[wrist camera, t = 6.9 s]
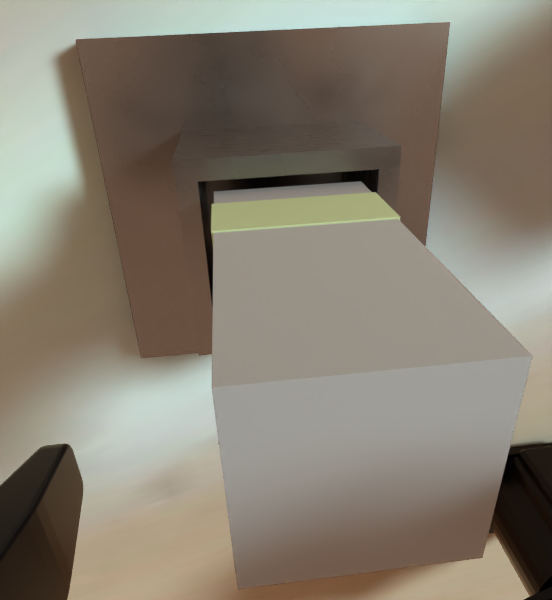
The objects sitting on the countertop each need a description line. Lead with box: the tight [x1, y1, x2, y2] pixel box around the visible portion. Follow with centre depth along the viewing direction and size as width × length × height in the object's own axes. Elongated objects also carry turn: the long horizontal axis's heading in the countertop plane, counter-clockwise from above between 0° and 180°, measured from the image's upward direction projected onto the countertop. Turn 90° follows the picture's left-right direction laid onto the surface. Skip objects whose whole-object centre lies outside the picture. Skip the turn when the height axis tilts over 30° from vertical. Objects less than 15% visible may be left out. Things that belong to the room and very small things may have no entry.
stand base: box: [76, 22, 450, 358], centre depth 17 cm, size 12×12×6 cm
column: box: [211, 181, 532, 589], centre depth 11 cm, size 4×4×9 cm
